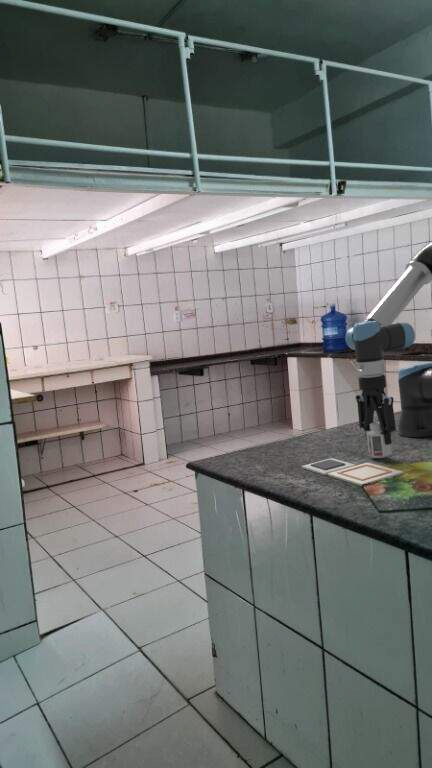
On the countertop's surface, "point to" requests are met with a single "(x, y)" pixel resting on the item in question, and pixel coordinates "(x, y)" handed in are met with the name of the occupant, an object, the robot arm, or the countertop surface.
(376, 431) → the pill bottle
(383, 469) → the print card
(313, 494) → the countertop surface
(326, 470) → the ink pad
